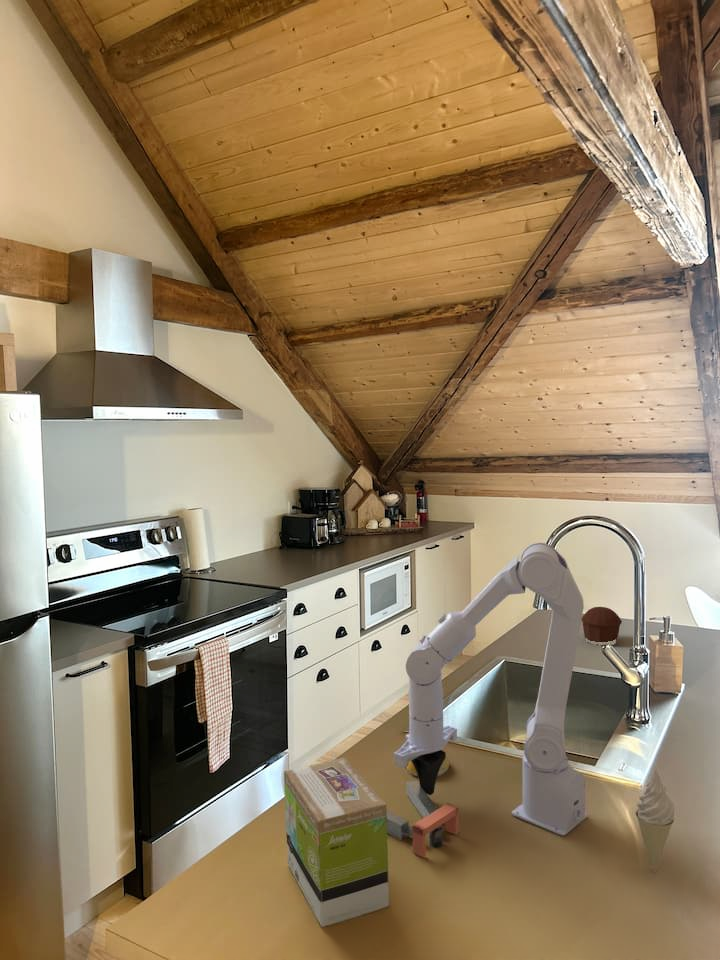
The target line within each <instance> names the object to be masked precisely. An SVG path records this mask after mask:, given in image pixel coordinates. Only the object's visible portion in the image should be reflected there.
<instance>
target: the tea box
mask: <svg viewBox="0 0 720 960" xmlns="http://www.w3.org/2000/svg"><path fill="white" fill-rule="evenodd" d="M283 772H284V773H283V775H284V776H283V777H284V778H283V781H284V783H283V784H284V786H283V787H284V809H285V810H284V812H285V832H286V833H285V834H286V858H287V859H286V860H287V865H288V866H289V869H290V871H291V873H292V875H293V876H294V878H295V880H296V882H297V884H298V886H299V888H300V890H301V891H302V893H303V895H304V897H305V899H306V901H307V903H308V905H309V906H310V908H311V911H312V912H313V914H314V916H315V918H316V920H317V921H318V923H319V925H320V927H321V928H325V927H327V926H332V925H334V924H338V923H341V922H345V921H347V920H348V921H349V920H350V919H351V920H352V919H354V918H358V917H360V916H363V915H367V914H370V913H374V912H376V911H379V910H382V909H384V908H387V907H389V905H390V904H389V897H390V896H389V894H390V893H389V892H390V888H389V886H390V885H389V860H388V859H389V857H388V854H389V851H388V833H387V811H388V810H387V803H386V802H385V801H384V800H383V799H382V798H381V797H380V796H379V794H377V792H376V791H375V790H374V789H373V787H371V786H370V785H369V783H368V782H367V781H366V780H365V779H364V778H363V776H361V774H360V773H359V772H358V771H357V770H356V769H355V767H354V766H353V765H352V764H351V763H350V762H349V761H348V759H347V758H345V757H342V758H337V759H331V760H328V761H325V762H324V761H323V762H320V763H315V764H311V765H306V766H302V767H298V768H294V769H289V770H284V771H283Z"/></svg>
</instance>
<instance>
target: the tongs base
mask: <svg viewBox="0 0 720 960" xmlns="http://www.w3.org/2000/svg"><path fill="white" fill-rule="evenodd" d="M409 824H410V823H409V820H408V819H406V818H403V817H402V816H400V815H397V814H395V813H393V812H391V811H389V810H387V835H390V836H392V837H393V838H396V839H398V840H400V841H403V840H404V839H406V838H408V837H411V838H413V825H409ZM441 826H442V825H441ZM441 826H439V827H437V828H435V829H434V830H432V831H431V832H429V833H428V834H429V846H430V847H432V848H437V849H438V848H441V847H442V846H443V844H444V842H443V841H444V839H443V837H444V835H443V834H444V833H443V831H444V830H443V829H444V828H442V827H443V826H442V827H441Z"/></svg>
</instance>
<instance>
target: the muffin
mask: <svg viewBox="0 0 720 960" xmlns="http://www.w3.org/2000/svg"><path fill="white" fill-rule="evenodd" d="M581 623H582V627H583V635H584V639H585V638H587V639H588V640H590V641H595V642H608V641H613V640H615V639H617V637H618V638H619V633H620V627H621V624H622V623H623V620H622V619H621V617H620V616H619V615H618V613H617V612H615V610H612V609H611V608H609V607H605V606H594V607H592V608H590V609H588V610H587V611H586V612H585V613H583V614H582V619H581ZM617 640H618V639H617Z"/></svg>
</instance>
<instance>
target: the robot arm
mask: <svg viewBox="0 0 720 960" xmlns="http://www.w3.org/2000/svg"><path fill="white" fill-rule="evenodd" d="M519 559H520V561H519ZM526 588H527V589H528V590H530V591H532V592H533V593H535V594H537V595H538V596H539V597H541V598H542V599H543V600H544V602H545V603H546V604H547V606H548V607H550V609H551V610H552V611H551V618H550V619H551V620H550V625H549V631H548V636H547V642H546V643H547V644H546V648H545V654H544V659H543V666H542V670H541V676H540V683H539V689H538V694H537V700H536V702H535V703H536V704H535V709H534V712H533V713H532V714H531V716H530V717H529V718H528V720H527V721H526V726H525V731H526V737H525V743H524V745H523V746H524V747H523V752H524V753H523V754H522V776H521V777H522V803H521V804H520V805H518V806H517V807H516V808H515V809H513V810H512V811H511V815H512V816H514V817H516V818H519V819H521V820H523V821H525V822H526V821H527V822H528V823H531V824H533V825H536V826H538V827H541V828H542V829H545V830H548V831H550V832H552V833H555V834H557V835H560V836H563V837H564V836H566V835H567V834H569V832H570V831H572V830H573V829H574V828H576V826H578V825H579V824H580V823H581V822H582V821H584V820H585V819H586V818H588V813H586V781H585V777H584V774H583V773H582V772H580V771H578V770H576V769H575V768H573V767H572V766H571V764H570V763H569V757H568V756H567V755H566V753H567V752H566V747H565V733H566V729H565V720H566V719H565V717H566V708H567V704H568V697H569V692H570V686H571V681H572V674H573V669H574V665H575V659H576V653H577V648H578V647H577V646H578V642H579V635H580V631H581V625H582V620H581V619H582V617H583V615H584V613H583V612H584V608H585V607H584V604H585V603H584V598H583V595H582V593H581V591H580V589H579V587H578V585H577V583H576V580H575V578H574V576H573V574H572V572H571V570H570V567H569V565H568V563H567V561H566V559H565V558H564V557H563V556H562V555H561V553H560V552H558V551H557V549H555V548H554V546H552V545H550V544H548V543H545V542H544V543H543V542H535V543H532V544H530V545H528V546H527V547H526V548H525V549H524V551H522V553H521V556H520V554H518V555H517V556H515V557H514V558H513V559H511V560H510V561H508V563H506V564H505V566H503V567H502V568H501V569H500V570H499V571H498V572H497V573H496V574H495V575H494V576H493V577H492V579H491V580H490V581H489V582H488V583H487V584H486V585H485V586H484V587H483V588H482V589H481V590H480V592H479V593H477V595H475V596H474V598H473V599H472V600H471V602H469V603H468V604H467V605H466V607H465V608H464V609H463V610H461V611H459V610H458V611H454V610H453V611H449V613H448V614H447V615H446V614H445V613H442V615H441V616H439V617H438V620H437V622H438V624H436V626H435V627H434V628H433V629H432V630H431V631H430V632H429V633H428V634H427V635H424V634H423V636H421V637H420V639H419V643H417V645H415V646H414V648H413V649H412V651H411V652H410V653H409V655H408V657H407V659H406V662H405V671H406V673H407V676H408V678H409V679H408V681H409V687H408V711H409V712H408V715H409V717H408V719H409V720H408V722H409V725H408V726H409V729H408V730H409V733H407V734H405V739H406V741H405V742H404V743H403V745H401V747H400V748H399V749H398V750H397V751H394V752H393V764H394V765H396V766H398V767H401V768H405V767H406V766H407V762H409V761H411V762H412V763H413V765H414V767H415V769H416V772H417V775H418V776H417V777H418V781H419V785H420V786H421V787H422V789H423V790H424V791H425V793H426V794H427V795H428V796H431V795H433V794H434V792H435V790H436V783H437V777H438V776H437V775H438V772H439V769H440V767H441V765H442V763H443V761H444V760H445V758H446V756H447V755H446V751H444V750H442V749H444V747H445V746H446V745H447V744H448V742H449V741H452V742H453V741H456V740H458V728H456V727H454V726H451V725H447V726H444V689H443V683H442V681H443V680H442V679H443V677H442V670H443V668H444V666H445V665H447V664H450V663H452V661H453V660H454V659H455V658H456V657H457V656H458V655H459V654H460V653H461V652H462V651H463V650H464V649H465V648H466V647H467V646H468V645H470V643H471V642H472V641H473V640H474V639H475V638H476V637H477V630H476V629H477V628H476V626H477V625H478V624H479V623H480V622H481V621H482V620H483V619H484V618H486V616H488V615H489V614H490V613H491V612H492V611H493V610H494V609H495V608H496V607H497V606H498V605H499V604H501V603H502V602H503V601H504V600H505V599H506V597H508V596H510V595H518V594H519V595H520V594H525V593H526Z"/></svg>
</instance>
